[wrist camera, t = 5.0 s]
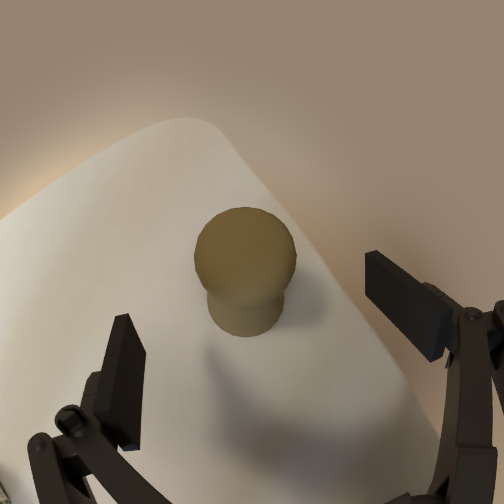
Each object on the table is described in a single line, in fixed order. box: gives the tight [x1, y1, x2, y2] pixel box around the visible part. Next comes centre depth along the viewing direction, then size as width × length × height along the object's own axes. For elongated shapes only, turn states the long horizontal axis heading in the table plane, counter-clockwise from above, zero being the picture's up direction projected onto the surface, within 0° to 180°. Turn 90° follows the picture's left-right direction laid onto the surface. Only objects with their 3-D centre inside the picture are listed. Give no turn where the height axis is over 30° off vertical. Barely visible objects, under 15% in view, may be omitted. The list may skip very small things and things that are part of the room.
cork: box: [194, 207, 297, 337], centre depth 20 cm, size 6×6×11 cm
